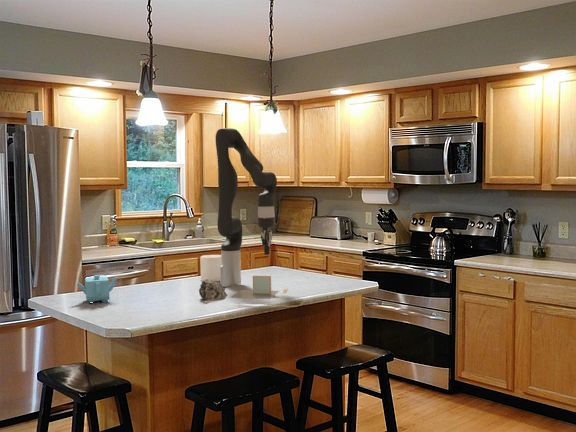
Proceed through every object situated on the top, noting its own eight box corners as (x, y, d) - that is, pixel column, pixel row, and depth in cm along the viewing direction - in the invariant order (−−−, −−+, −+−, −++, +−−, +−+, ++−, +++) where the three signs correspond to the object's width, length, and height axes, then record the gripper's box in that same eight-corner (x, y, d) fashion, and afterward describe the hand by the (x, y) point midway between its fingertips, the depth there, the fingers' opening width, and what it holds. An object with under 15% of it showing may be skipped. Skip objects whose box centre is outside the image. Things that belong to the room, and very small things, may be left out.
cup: (222, 281, 322) (221, 257, 321) (199, 281, 322) (198, 257, 321) (225, 277, 333) (224, 254, 333) (202, 277, 334) (202, 254, 333)
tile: (252, 294, 282) (252, 276, 282) (253, 293, 284) (253, 275, 283) (270, 294, 281) (270, 276, 280) (271, 293, 282) (271, 275, 282)
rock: (196, 306, 271) (208, 288, 268) (192, 291, 279) (204, 274, 275) (222, 314, 277) (234, 297, 274) (218, 300, 285) (229, 283, 282)
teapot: (76, 299, 280) (75, 274, 279) (118, 296, 286) (117, 271, 285) (78, 306, 265) (77, 279, 264) (122, 303, 271) (121, 276, 270)
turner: (281, 291, 294) (281, 288, 293) (291, 291, 293) (291, 288, 293) (276, 298, 278) (276, 295, 278) (286, 298, 277) (286, 295, 277)
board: (229, 299, 275) (229, 297, 275) (240, 291, 293) (240, 289, 292) (270, 301, 271) (270, 298, 271) (279, 293, 289) (279, 290, 289)
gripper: (261, 215, 297) (262, 252, 298) (254, 217, 284) (255, 256, 285) (277, 215, 295) (278, 252, 297) (271, 217, 282) (271, 256, 284)
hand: (267, 254), depth 291 cm, fingers closed
